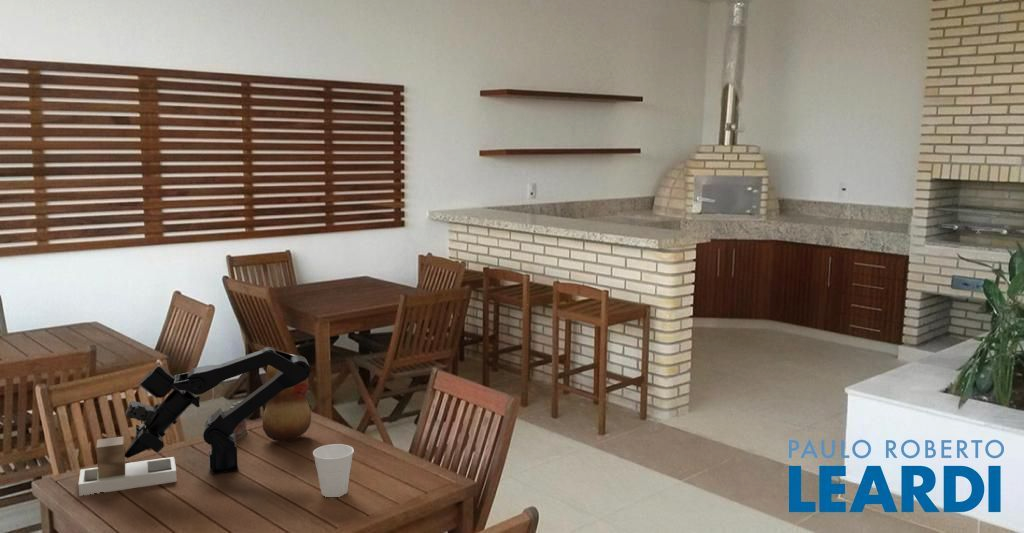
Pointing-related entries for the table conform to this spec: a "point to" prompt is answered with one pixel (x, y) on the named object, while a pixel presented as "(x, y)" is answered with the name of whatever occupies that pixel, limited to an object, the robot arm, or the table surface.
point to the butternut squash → (287, 411)
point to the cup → (333, 468)
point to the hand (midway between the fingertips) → (125, 456)
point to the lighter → (239, 426)
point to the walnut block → (110, 457)
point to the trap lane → (129, 476)
